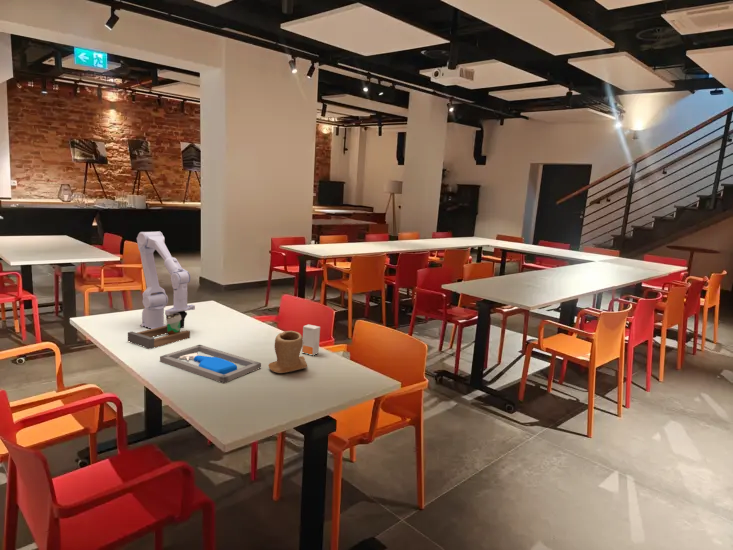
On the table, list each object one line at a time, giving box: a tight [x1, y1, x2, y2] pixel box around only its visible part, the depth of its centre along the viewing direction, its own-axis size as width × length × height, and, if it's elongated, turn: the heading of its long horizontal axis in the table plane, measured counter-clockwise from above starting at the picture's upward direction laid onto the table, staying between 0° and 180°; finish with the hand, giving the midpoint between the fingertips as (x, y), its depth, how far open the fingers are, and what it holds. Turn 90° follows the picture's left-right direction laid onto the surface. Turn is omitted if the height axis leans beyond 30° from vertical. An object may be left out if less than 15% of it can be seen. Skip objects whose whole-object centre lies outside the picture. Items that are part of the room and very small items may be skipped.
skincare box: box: [301, 323, 321, 355], centre depth 204 cm, size 6×4×12 cm
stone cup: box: [268, 330, 309, 374], centre depth 184 cm, size 15×12×15 cm
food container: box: [165, 313, 182, 335], centre depth 212 cm, size 12×6×10 cm, turn 24°
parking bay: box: [136, 326, 191, 348], centre depth 209 cm, size 14×18×3 cm
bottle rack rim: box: [159, 344, 262, 384], centre depth 184 cm, size 33×19×2 cm, turn 61°
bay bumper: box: [127, 331, 155, 349], centre depth 200 cm, size 14×2×4 cm, turn 61°
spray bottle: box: [178, 352, 238, 375], centre depth 184 cm, size 3×11×24 cm
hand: (180, 327), depth 217 cm, fingers closed
